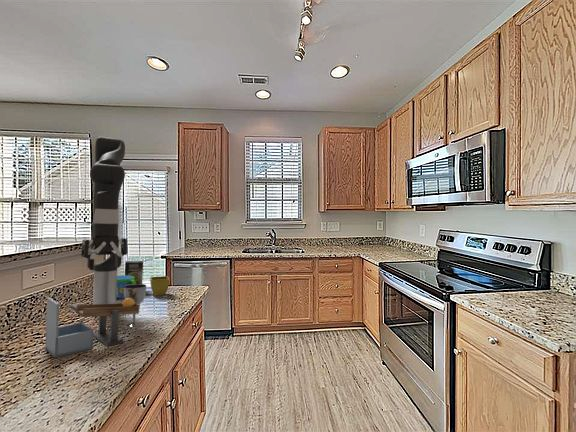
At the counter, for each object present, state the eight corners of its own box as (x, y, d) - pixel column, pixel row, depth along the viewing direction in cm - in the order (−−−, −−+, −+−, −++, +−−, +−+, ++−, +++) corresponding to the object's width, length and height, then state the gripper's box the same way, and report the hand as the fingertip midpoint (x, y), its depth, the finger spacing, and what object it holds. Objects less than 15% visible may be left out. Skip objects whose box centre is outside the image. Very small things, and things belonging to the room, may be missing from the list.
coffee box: (123, 292, 179) (124, 262, 179) (124, 290, 185) (125, 260, 185) (142, 291, 183) (143, 262, 183) (142, 289, 189) (143, 260, 189)
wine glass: (136, 328, 126) (137, 288, 126) (117, 326, 127) (119, 287, 127) (149, 322, 134) (150, 284, 134) (131, 320, 135) (132, 283, 135)
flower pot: (150, 297, 172) (151, 279, 171) (149, 293, 179) (149, 276, 179) (169, 296, 176) (169, 278, 176) (166, 292, 183) (167, 275, 183)
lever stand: (92, 336, 117) (93, 304, 117) (107, 332, 121) (108, 302, 121) (107, 346, 109) (108, 312, 109) (123, 342, 112) (124, 309, 112)
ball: (119, 307, 119) (121, 296, 120) (130, 308, 122) (132, 297, 123) (123, 310, 117) (126, 298, 117) (135, 310, 120) (137, 299, 120)
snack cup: (142, 297, 172) (142, 277, 172) (124, 301, 162) (125, 280, 162) (120, 293, 178) (121, 274, 178) (102, 297, 168) (102, 277, 168)
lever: (67, 307, 115) (69, 298, 115) (121, 305, 129) (122, 297, 129) (82, 317, 106) (84, 307, 106) (138, 313, 119) (140, 305, 119)
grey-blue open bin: (45, 348, 106) (47, 297, 106) (81, 340, 113) (83, 292, 113) (55, 358, 99) (56, 304, 99) (92, 348, 107) (94, 298, 107)
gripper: (122, 221, 124) (120, 265, 125) (79, 221, 113) (77, 269, 114) (131, 222, 120) (130, 268, 120) (88, 222, 109) (86, 272, 109)
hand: (104, 268), depth 117 cm, fingers open, 8 cm apart
